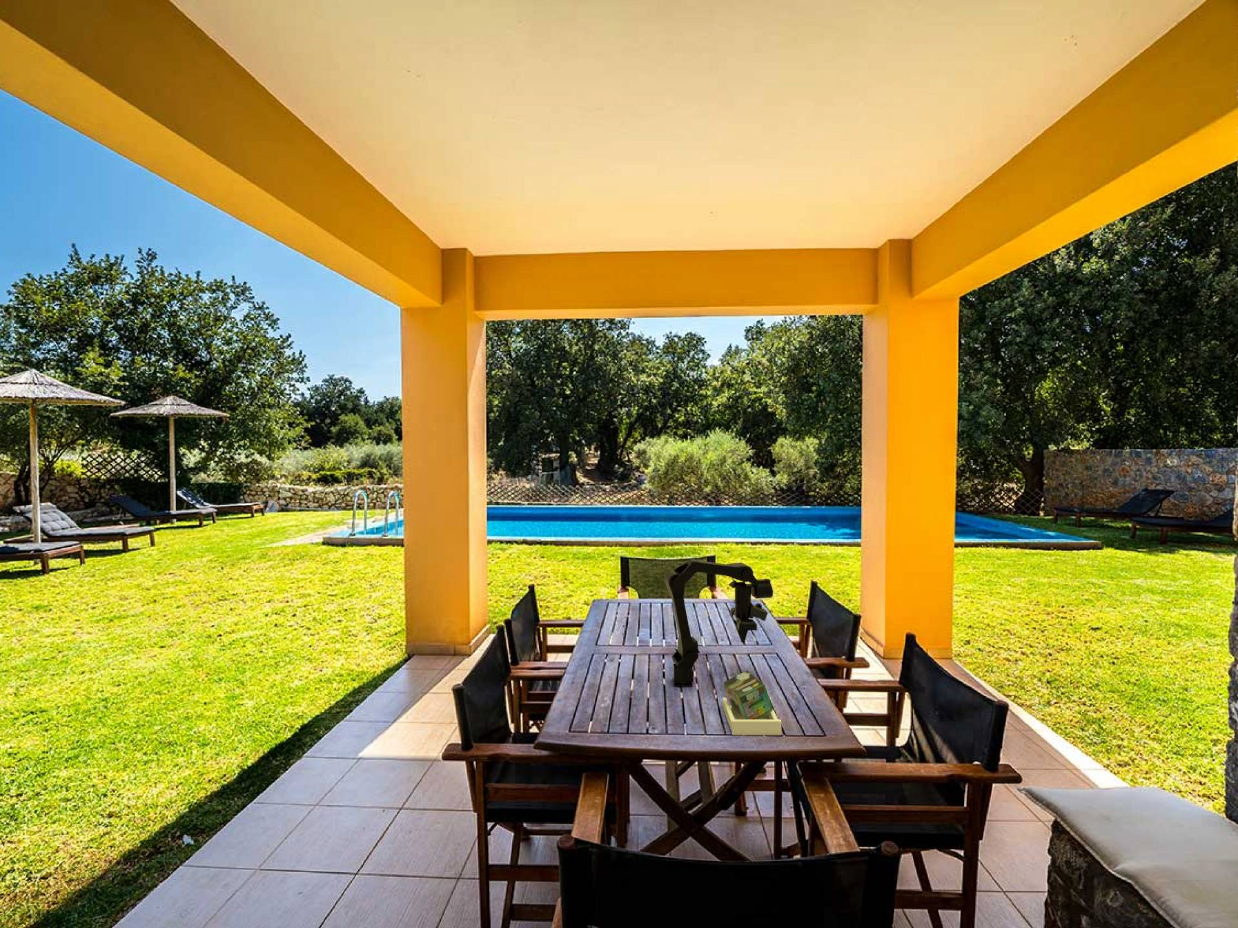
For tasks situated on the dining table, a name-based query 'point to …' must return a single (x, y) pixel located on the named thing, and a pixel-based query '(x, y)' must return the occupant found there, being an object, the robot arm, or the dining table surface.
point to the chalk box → (748, 696)
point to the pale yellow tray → (751, 722)
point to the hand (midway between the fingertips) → (742, 642)
